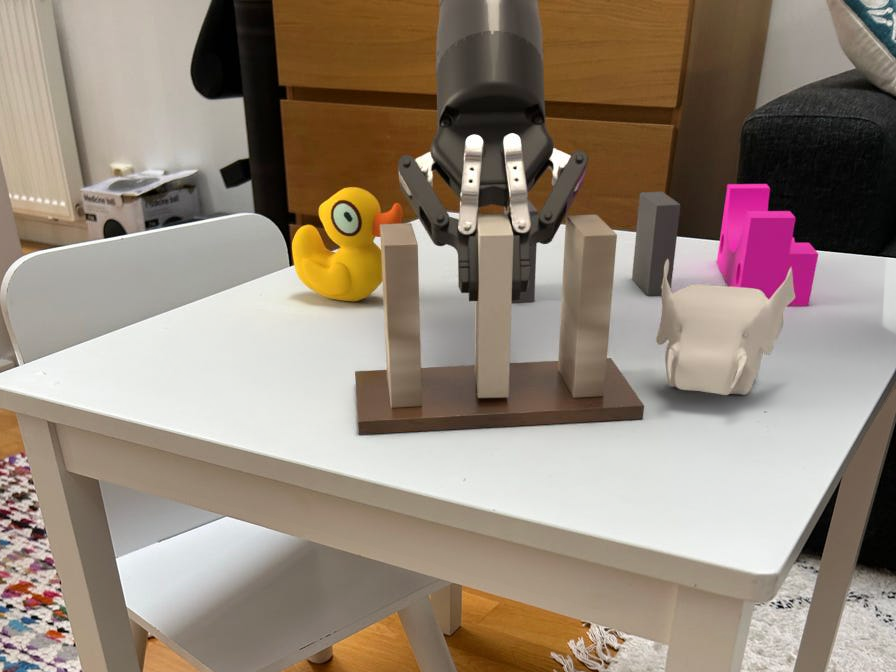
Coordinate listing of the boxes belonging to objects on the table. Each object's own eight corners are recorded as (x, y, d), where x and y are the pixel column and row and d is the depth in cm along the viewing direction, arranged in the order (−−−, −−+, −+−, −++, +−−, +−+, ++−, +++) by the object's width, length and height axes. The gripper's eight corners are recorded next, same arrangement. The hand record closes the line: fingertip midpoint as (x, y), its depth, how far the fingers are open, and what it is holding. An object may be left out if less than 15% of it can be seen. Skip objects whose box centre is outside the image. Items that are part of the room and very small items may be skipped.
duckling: (416, 296, 96) (413, 184, 90) (393, 312, 92) (388, 196, 86) (312, 287, 100) (302, 179, 94) (286, 302, 96) (274, 190, 90)
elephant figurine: (627, 411, 71) (640, 283, 66) (658, 357, 80) (672, 241, 75) (766, 427, 68) (790, 295, 63) (782, 369, 77) (805, 249, 72)
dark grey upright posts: (653, 277, 99) (662, 191, 94) (670, 294, 94) (680, 204, 89) (502, 285, 98) (504, 198, 94) (511, 302, 93) (513, 212, 89)
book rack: (610, 370, 78) (623, 206, 71) (643, 419, 70) (662, 239, 63) (355, 383, 77) (344, 219, 70) (358, 434, 69) (346, 254, 62)
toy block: (808, 305, 90) (825, 217, 86) (737, 305, 91) (751, 217, 86) (778, 262, 102) (792, 183, 98) (716, 262, 103) (727, 184, 99)
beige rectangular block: (503, 368, 75) (507, 213, 69) (508, 398, 70) (513, 234, 64) (474, 368, 75) (476, 214, 69) (477, 398, 70) (479, 235, 64)
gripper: (388, 29, 66) (389, 267, 63) (596, 23, 66) (606, 262, 63) (394, 108, 74) (395, 324, 71) (581, 103, 73) (589, 320, 70)
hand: (495, 294), depth 67 cm, fingers closed on beige rectangular block, 2 cm apart
